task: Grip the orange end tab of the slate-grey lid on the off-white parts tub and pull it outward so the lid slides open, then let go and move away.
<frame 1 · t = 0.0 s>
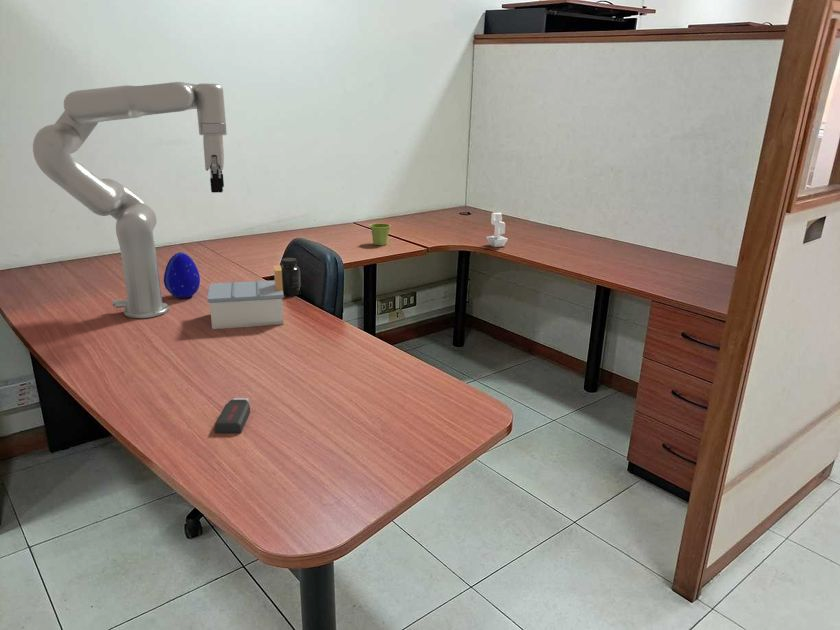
hand: (217, 189, 183), 37 cm above the table, tool pointing down, fingers open, 9 cm apart
supplement bottle: (290, 294, 210), on the table
figurine: (496, 246, 282), on the table
usb drive: (235, 420, 130), on the table
plant pot: (380, 244, 279), on the table
ornament: (185, 297, 204), on the table
parts tub: (248, 318, 186), on the table
tub lid: (245, 280, 182), point 12 cm above the table, slide at 0.0 cm
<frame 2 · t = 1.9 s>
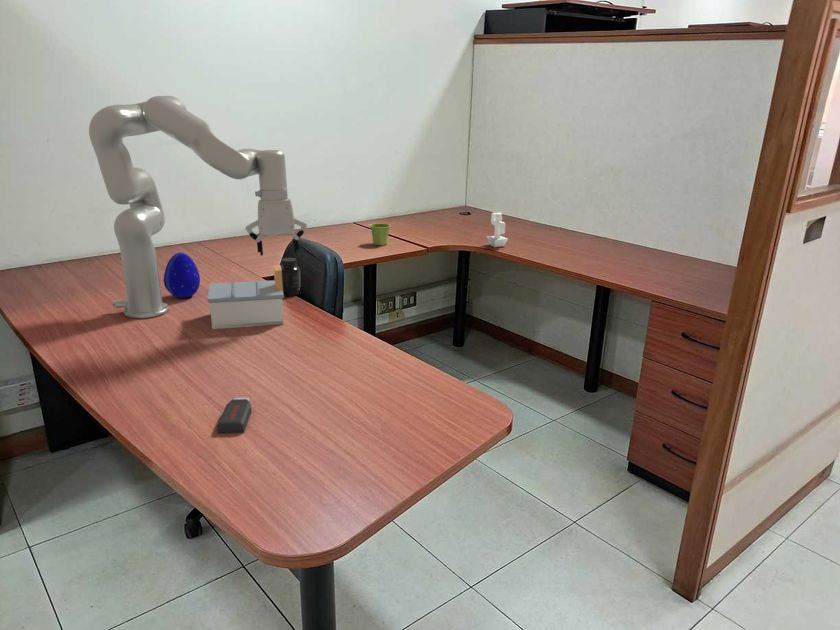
hand: (278, 253, 182), 20 cm above the table, tool pointing down, fingers open, 9 cm apart
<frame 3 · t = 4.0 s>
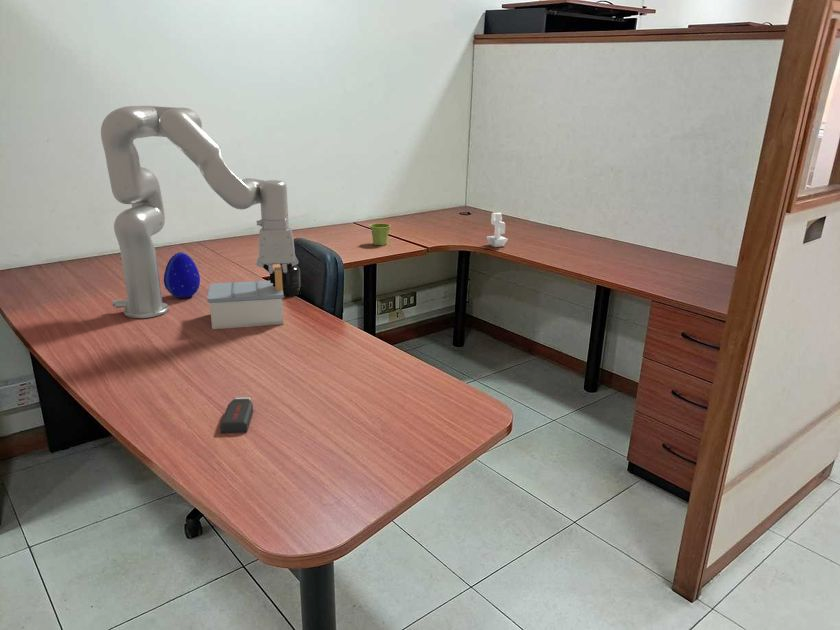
hand: (278, 284, 185), 10 cm above the table, tool pointing down, fingers closed on tub lid, 2 cm apart
tub lid: (245, 280, 182), point 12 cm above the table, slide at 0.0 cm, touching gripper
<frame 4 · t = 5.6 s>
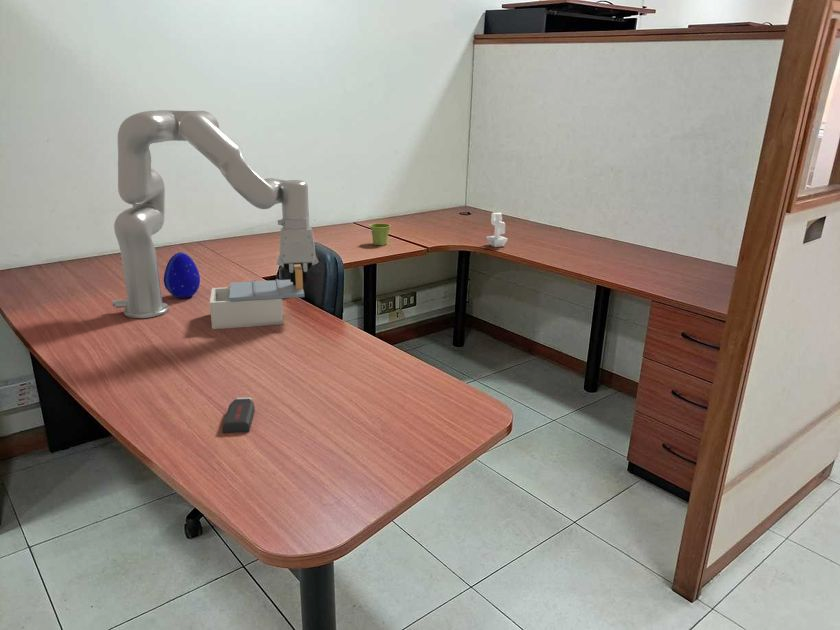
hand: (298, 283, 186), 10 cm above the table, tool pointing down, fingers closed on tub lid, 2 cm apart
tub lid: (266, 279, 184), point 12 cm above the table, slide at 5.9 cm, touching gripper
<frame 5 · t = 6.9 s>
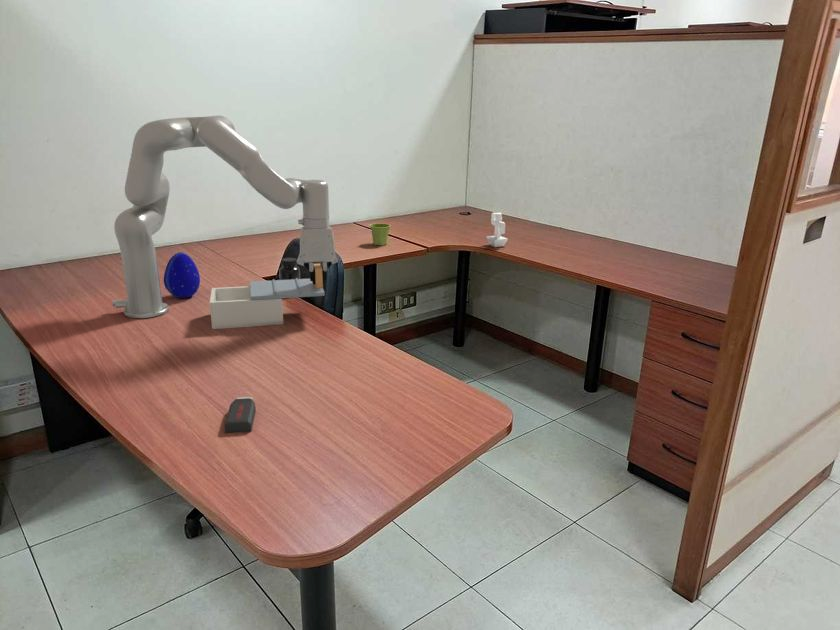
hand: (318, 282, 188), 10 cm above the table, tool pointing down, fingers closed on tub lid, 2 cm apart
tub lid: (286, 278, 185), point 12 cm above the table, slide at 11.8 cm, touching gripper
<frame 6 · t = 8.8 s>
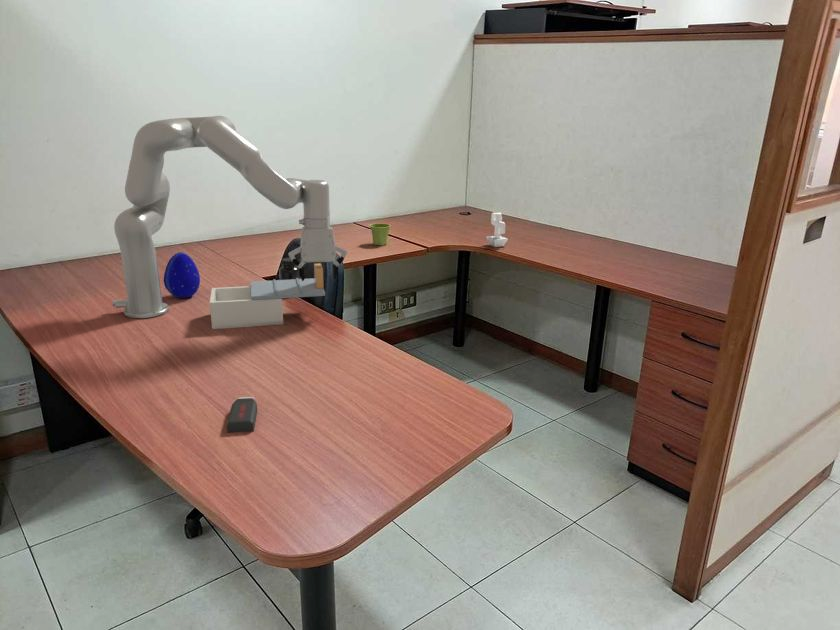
hand: (318, 278, 188), 11 cm above the table, tool pointing down, fingers open, 9 cm apart
tub lid: (286, 278, 185), point 12 cm above the table, slide at 12.0 cm
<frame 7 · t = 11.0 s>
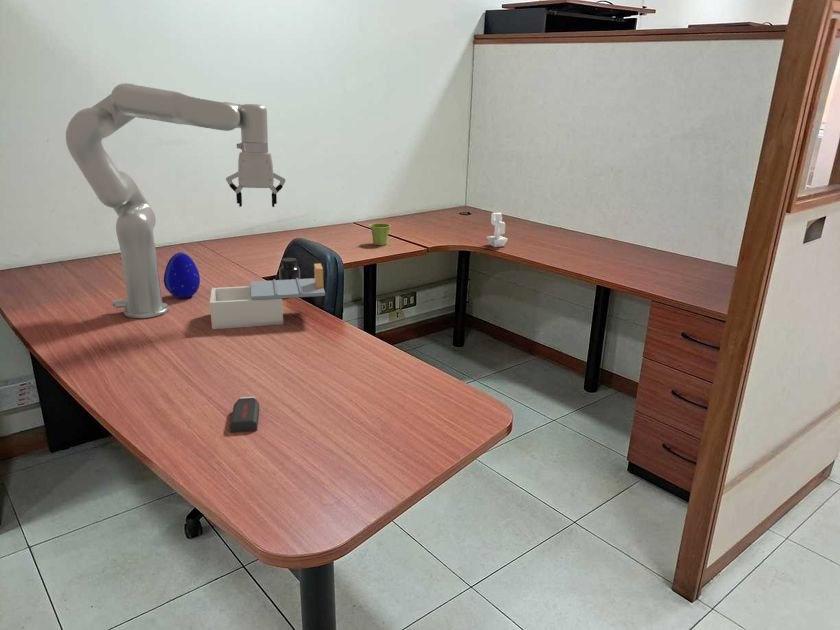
hand: (257, 206, 188), 31 cm above the table, tool pointing down, fingers open, 9 cm apart
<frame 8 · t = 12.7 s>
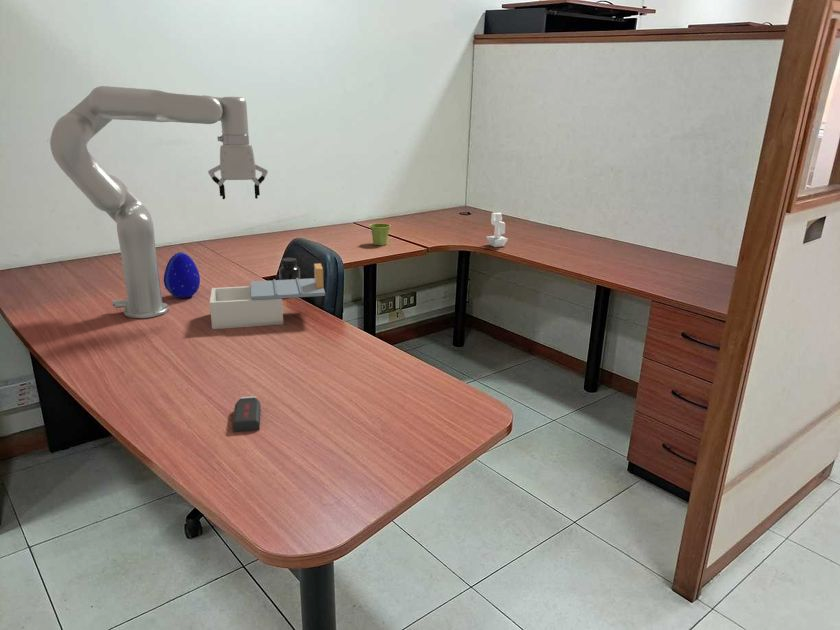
hand: (240, 198, 190), 33 cm above the table, tool pointing down, fingers open, 9 cm apart
at the end: tub lid slide at 12.0 cm; supplement bottle moved 0.2 cm from its start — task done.
